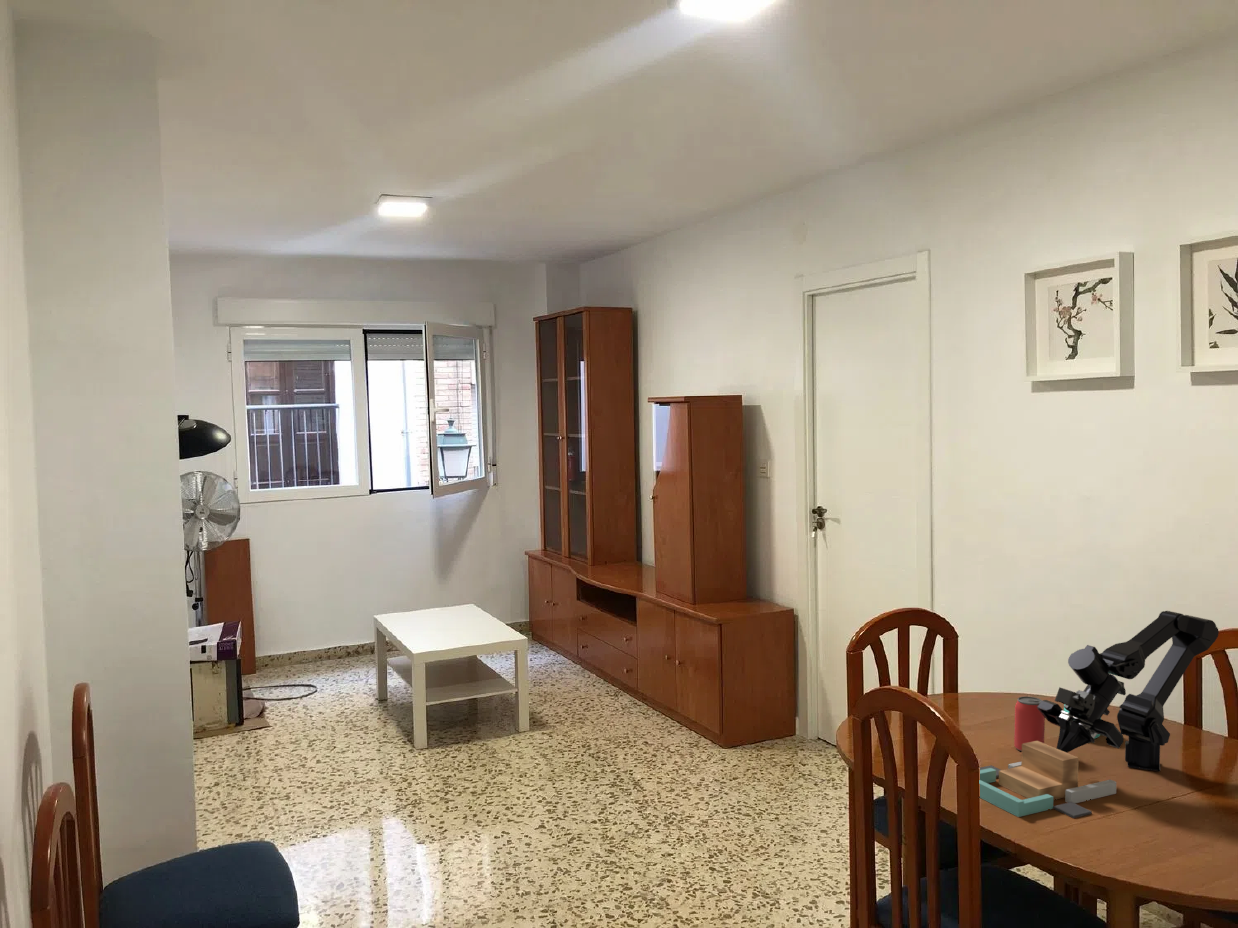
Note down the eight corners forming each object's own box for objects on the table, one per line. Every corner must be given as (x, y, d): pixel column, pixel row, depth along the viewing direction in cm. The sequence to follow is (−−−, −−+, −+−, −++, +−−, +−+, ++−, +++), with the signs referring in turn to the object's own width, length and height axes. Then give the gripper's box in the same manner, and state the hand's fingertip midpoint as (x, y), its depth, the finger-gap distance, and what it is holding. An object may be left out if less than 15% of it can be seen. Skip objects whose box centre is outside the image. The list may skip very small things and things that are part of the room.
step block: (1036, 775, 215) (1037, 740, 215) (1077, 794, 205) (1078, 757, 205) (998, 784, 211) (999, 748, 210) (1038, 803, 201) (1039, 765, 200)
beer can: (1047, 754, 228) (1048, 704, 227) (1017, 753, 229) (1018, 703, 228) (1040, 745, 234) (1041, 696, 233) (1011, 743, 235) (1012, 694, 234)
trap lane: (1034, 758, 226) (1034, 745, 225) (1137, 802, 201) (1137, 788, 201) (941, 777, 215) (941, 764, 214) (1037, 826, 190) (1038, 811, 190)
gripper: (1044, 664, 219) (1005, 718, 216) (1115, 686, 202) (1075, 745, 199) (1068, 694, 223) (1031, 748, 219) (1141, 718, 206) (1102, 777, 202)
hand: (1058, 753), depth 210 cm, fingers closed
